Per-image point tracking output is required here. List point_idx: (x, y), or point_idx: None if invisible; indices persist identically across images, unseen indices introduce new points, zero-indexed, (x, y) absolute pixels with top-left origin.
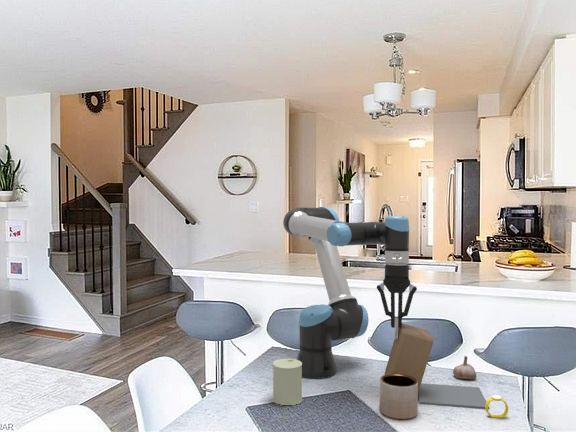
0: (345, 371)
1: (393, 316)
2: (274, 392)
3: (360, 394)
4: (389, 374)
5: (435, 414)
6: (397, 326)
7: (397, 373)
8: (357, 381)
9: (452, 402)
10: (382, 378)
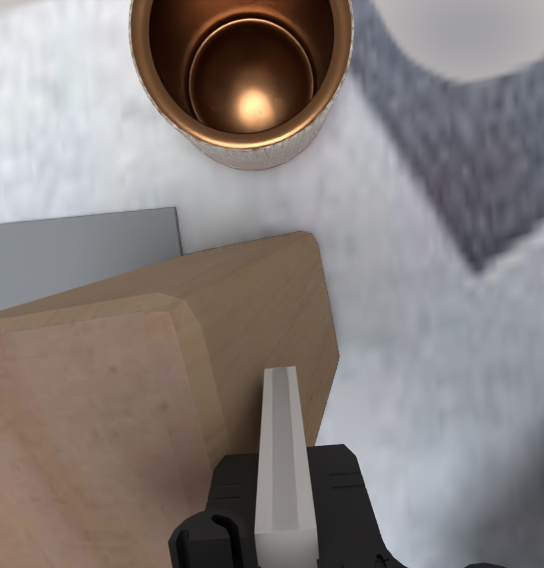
0: (505, 473)
1: (345, 554)
2: None
3: (421, 236)
4: (303, 119)
5: (106, 116)
6: (267, 440)
7: (264, 242)
8: (445, 375)
9: (44, 240)
10: (340, 33)
